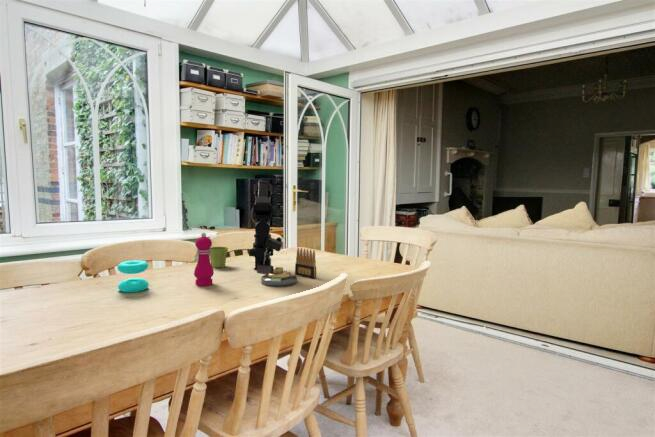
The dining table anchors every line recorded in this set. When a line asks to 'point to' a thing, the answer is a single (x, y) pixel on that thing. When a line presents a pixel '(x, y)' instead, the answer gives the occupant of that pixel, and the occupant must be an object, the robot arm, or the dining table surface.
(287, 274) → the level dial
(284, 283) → the base
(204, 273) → the pepper mill
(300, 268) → the ammunition clip
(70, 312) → the dining table surface
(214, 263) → the plant pot
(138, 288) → the donuts
